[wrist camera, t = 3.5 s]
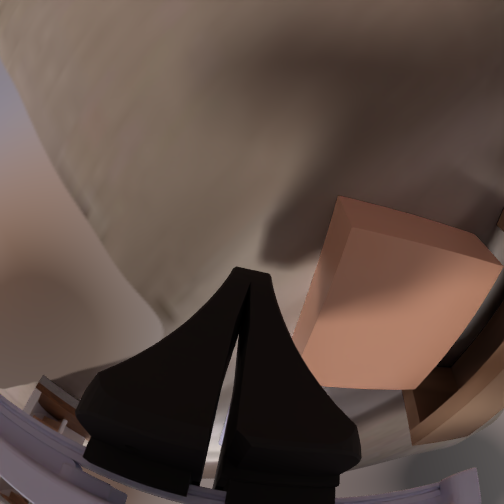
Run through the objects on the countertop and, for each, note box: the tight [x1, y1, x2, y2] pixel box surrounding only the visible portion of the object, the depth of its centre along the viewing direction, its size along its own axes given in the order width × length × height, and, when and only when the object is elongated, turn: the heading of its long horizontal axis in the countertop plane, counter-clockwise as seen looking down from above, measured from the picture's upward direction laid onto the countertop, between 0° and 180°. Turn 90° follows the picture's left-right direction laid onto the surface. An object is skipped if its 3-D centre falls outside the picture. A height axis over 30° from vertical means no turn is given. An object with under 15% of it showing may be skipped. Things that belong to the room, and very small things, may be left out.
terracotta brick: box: [292, 195, 504, 390], centre depth 11 cm, size 8×7×3 cm
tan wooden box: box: [402, 209, 504, 446], centre depth 10 cm, size 12×5×5 cm, turn 170°
